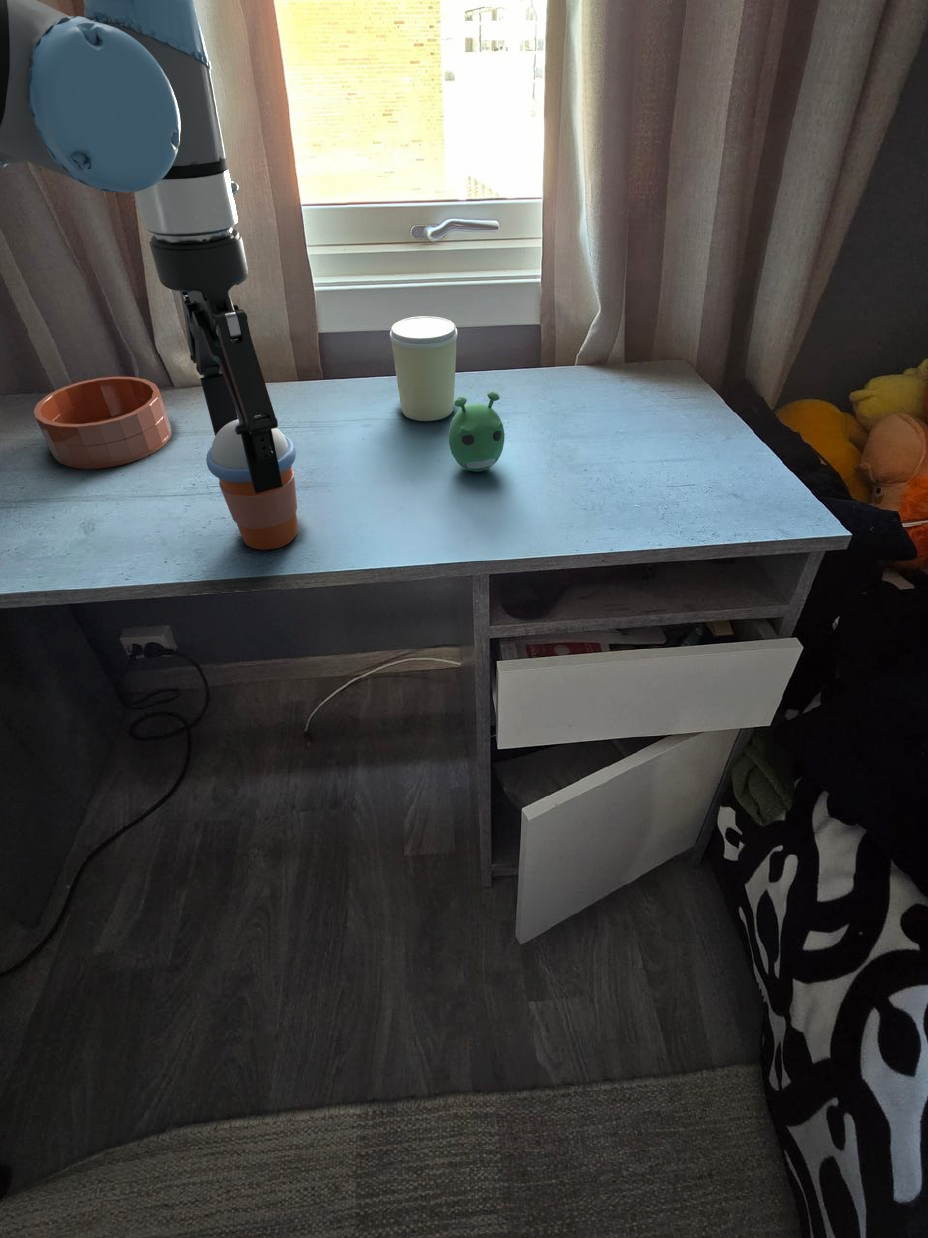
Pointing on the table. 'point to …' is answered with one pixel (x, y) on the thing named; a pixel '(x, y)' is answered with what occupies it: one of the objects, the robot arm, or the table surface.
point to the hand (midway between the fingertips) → (247, 459)
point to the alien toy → (476, 434)
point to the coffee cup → (425, 366)
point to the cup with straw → (257, 515)
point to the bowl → (104, 422)
